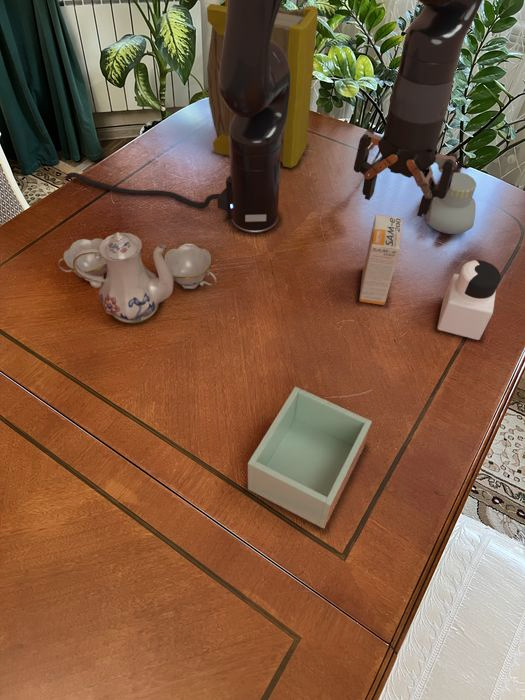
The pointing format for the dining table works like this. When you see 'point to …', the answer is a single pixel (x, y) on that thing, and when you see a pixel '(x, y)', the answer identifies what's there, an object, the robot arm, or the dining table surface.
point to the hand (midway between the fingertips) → (394, 205)
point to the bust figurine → (470, 300)
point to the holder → (308, 456)
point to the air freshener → (454, 207)
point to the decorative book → (298, 45)
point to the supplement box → (381, 259)
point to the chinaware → (135, 273)
